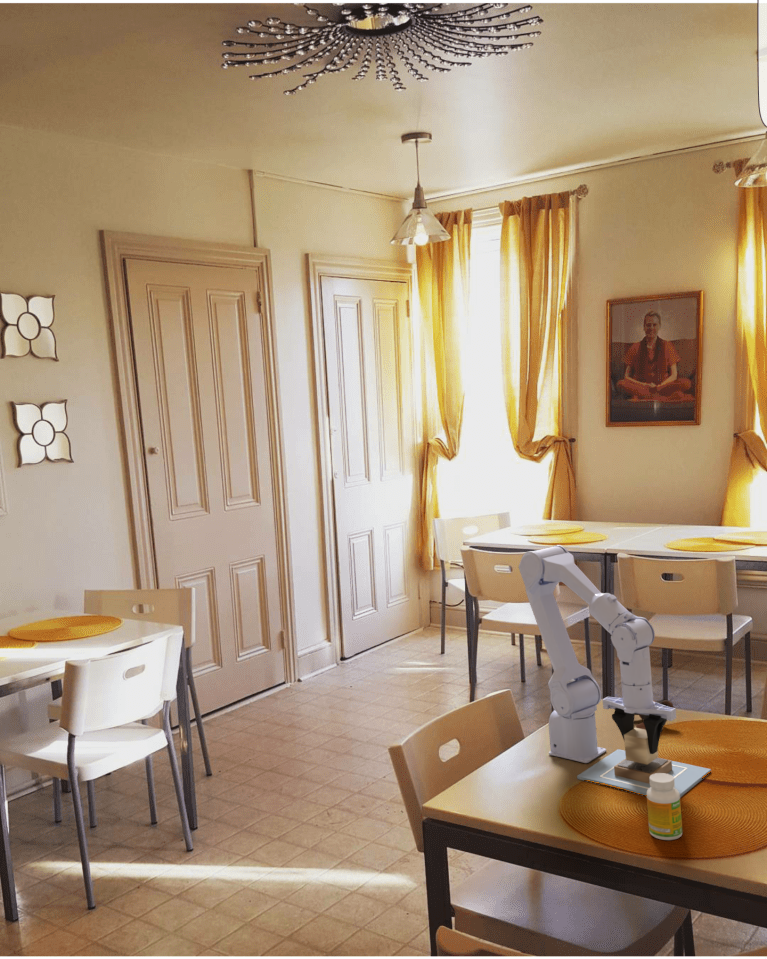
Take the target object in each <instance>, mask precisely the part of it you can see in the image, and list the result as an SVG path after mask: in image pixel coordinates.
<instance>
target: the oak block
mask: <svg viewBox="0 0 767 959" xmlns="http://www.w3.org/2000/svg"><path fill="white" fill-rule="evenodd" d="M624 741H625V742H624ZM623 742H624V750H625V754H626V760H629V761H633V762H638V763H642V764H647V765H648V764H649V763H650V762H652V761H653V760H654V759H656V758H659V750H658V751H657V752H655V753H654V754H650V751H649V746H648V737H647V732H646V730H645V729H640V728H636V727H634V729H632V730H631V731H629V732H628V733H626V734H625V735H624V739H623Z"/></svg>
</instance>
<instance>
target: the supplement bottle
mask: <svg viewBox="0 0 767 959" xmlns="http://www.w3.org/2000/svg"><path fill="white" fill-rule="evenodd" d="M649 780H650V786H651V787H650V788H649V789H648V790H647V796H646V804H647V805H646V807H647V818H648V819H647V822H648V830H649V834H650V835H651V836H652V837H654V838H655V839H657V840H658V839H659V840H663V841H674V840H677V839H679V838H680V837H682V835H683V820H682V810H681V809H682V808H681V806H682V805H681V797H680V794H679V792H678V790H677V789H676V788H674V787H675V783H674V777H673V776H672V775H670V774H666V773H655V774H652V775H651V776H650V777H649Z"/></svg>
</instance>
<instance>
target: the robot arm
mask: <svg viewBox="0 0 767 959" xmlns="http://www.w3.org/2000/svg"><path fill="white" fill-rule="evenodd" d="M518 570H519V573H520V576H521V579H522V581H523V584H524V588H525V594H526V596H527V599H528V603H529V605H530V608H531V611H532V613H533V615H534V620H535V621H536V624H537V627H538V630H539V633H540V635H541V639H542V642H543V644H544V647H545V649H546V653H547V656H548V658H549V661H550V664H551V667H552V670H553V673H552V675H551V677H550V679H549V681H548V682H547V685H548V688H549V692H550V703H551V705H552V708H553V711H552V712H551V714H550V715H549V719H548V734H549V745H550V747H549V748H550V750H549V751H548V755H550V756H554V757H558V758H562V759H566V760H570V761H576V762H579V763H582V764H583V763H584V764H589V763H590V762H592V761H593V760H595V759H597V758H598V757H600V756H601V755H602V754H604V753H605V752H607V748H604V747H600V746H599V745H598V736H597V723H596V712H597V711H598V710H597V707H598V706H597V705H599V704H600V703H601V700H602V708H603V709H604V710H609V709H612V710H614V711H613V714H611V718H612V720H613V721H614V723H615V724H616V726H617V728H618V730H619V732H620V734H621V737H622V740H623V742H624V743H625V741H624V735H625V734H626V733H628V732H629V731H631V730H632V729H634V728H635V716H636V715H635V713H638V714H643V715H649V718H646V719H645V720H642V721H643V723H644V726H645V729H646V732H647V737H648V746H649V751H650V754H654V753H655V752H657V751H658V752H659V742H660V739H661V735H662V732H663V729H664V726H665V725H666V723H667V721H670V722H673V721H674V720H676V719H677V711H676V710H677V708H676V707H675V708H672V707H668V706H665V705H662V704H659V703H656V702H657V701H656V702H654V701H655V700H654V694H653V692H654V691H653V683H652V682H653V679H652V667H651V666H652V664H651V653H650V646H651V645H652V644H653V643H654V641H655V638H656V637H655V635H656V634H655V629H654V627H653V625H652V623H650V621H649V620H648V618H646V617H644V616H643V617H642V616H637V615H636V614H633V613H632V612H631V611H629V610H628V609H627V608H626V607H625V606H624V605H623V604H621V602H620V601H619V600H618V598H617V596H615V594H611V593H610V592H605V593H604V592H601V591H600V590H599V589H598V588H597V587H596V585H594V583H593V582H592V580H590V579H589V577H588V576H586V574H585V573H584V572H583V571H582V570H581V569H580V568H579V567H578V566H577V565H576V564H575V557H574V555H573V554H572V553H570V552H569V550H568V549H567V548H566V547H564V546H563V545H561V544H556V545H553V546H551V547H546V548H545V547H544V548H542V549H536V550H529V551H526V552H525V553H524V554H523V555H522V557H521V559H520V562H519V565H518ZM559 583H563V584H564V585H565V586H566V587H567V588H569V589H570V590H571V591H572V592H573V593H574V594H576V595H577V597H579V598H580V599H581V600H583V601H584V602H585V603H586V604H587V605H588V611H589V612H588V613H589V614H590V615H591V616H592V618H594V620H596V621H597V622H598V623H599V624H600V625H601V626H602V627H603V629H605V630H606V631H607V632H608V633H609V634H610V635H611V636H610V640H611V643H612V645H613V647H614V648H615V650H616V654H617V655H616V658H618V660H619V669H620V670H619V671H620V681H621V683H620V684H621V694H622V695H621V696H622V697H615V696H614V697H613V696H606V697H604V698H603V699H602V691H601V687H600V685H599V683H598V681H596V679H595V678H594V676H593V674H592V671H591V669H589V668H588V667H586V666H584V665H582V664H580V663H579V660H578V657H577V655H576V652H575V650H574V646H573V644H572V641H571V637H570V636H569V633H568V630H567V627H566V624H565V621H564V619H563V616H562V614H561V611H560V609H559V606H558V603H557V601H556V598H555V595H554V592H555V589H556V588H557V586H558V584H559ZM572 679H574V680H575V681H573V682H570V683H567V682H568V681H569V680H572ZM653 700H654V701H653ZM666 720H667V721H666ZM665 722H666V723H665ZM664 724H665V725H664Z"/></svg>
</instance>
